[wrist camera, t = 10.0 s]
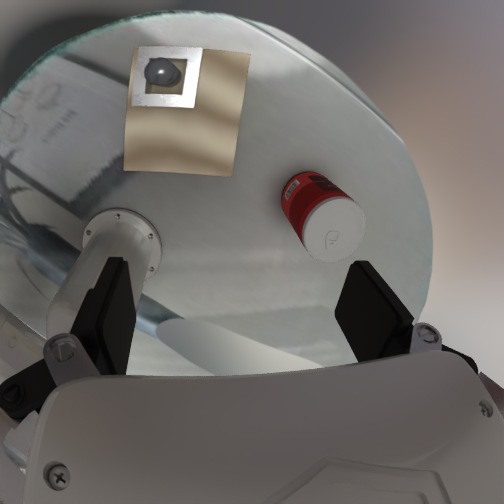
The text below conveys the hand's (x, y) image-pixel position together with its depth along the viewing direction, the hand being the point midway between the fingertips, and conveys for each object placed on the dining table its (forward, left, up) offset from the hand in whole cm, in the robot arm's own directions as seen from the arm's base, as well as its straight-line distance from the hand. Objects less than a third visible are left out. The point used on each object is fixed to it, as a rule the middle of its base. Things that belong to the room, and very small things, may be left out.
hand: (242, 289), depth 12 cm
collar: (+9, +7, -26) cm, 29 cm away
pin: (+9, +7, -26) cm, 29 cm away
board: (+5, +5, -28) cm, 29 cm away
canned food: (-5, -13, -28) cm, 31 cm away
